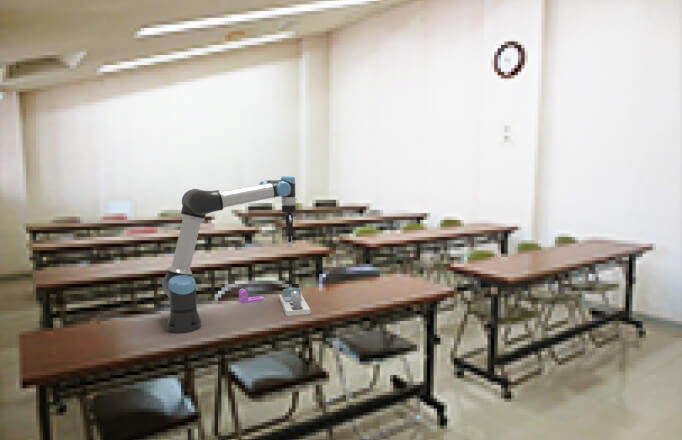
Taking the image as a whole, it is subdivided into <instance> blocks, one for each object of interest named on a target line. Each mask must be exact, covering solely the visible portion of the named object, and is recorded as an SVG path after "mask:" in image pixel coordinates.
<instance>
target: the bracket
mask: <svg viewBox="0 0 682 440" xmlns="http://www.w3.org/2000/svg"><path fill="white" fill-rule="evenodd" d="M262 300H263V301H264V296H261V295H260V296H250V297H249V292H248V291H247V290H246V289H245V288H240V289H239V290H238V302H241V303H240V304H242V305H244V304H250V302H251V303H257V302H256V301H259V302H262Z"/></svg>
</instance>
